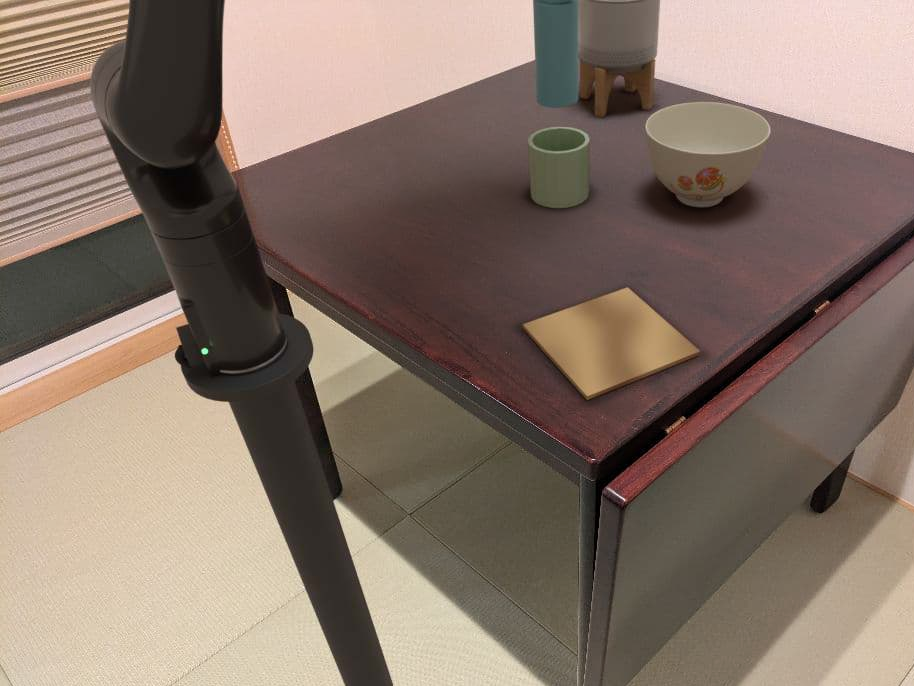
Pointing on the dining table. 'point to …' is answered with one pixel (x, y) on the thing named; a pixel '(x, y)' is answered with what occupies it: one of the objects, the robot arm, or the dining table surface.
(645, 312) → the cork mat
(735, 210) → the dining table surface
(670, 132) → the bowl
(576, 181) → the holder
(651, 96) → the planter
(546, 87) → the bottle
